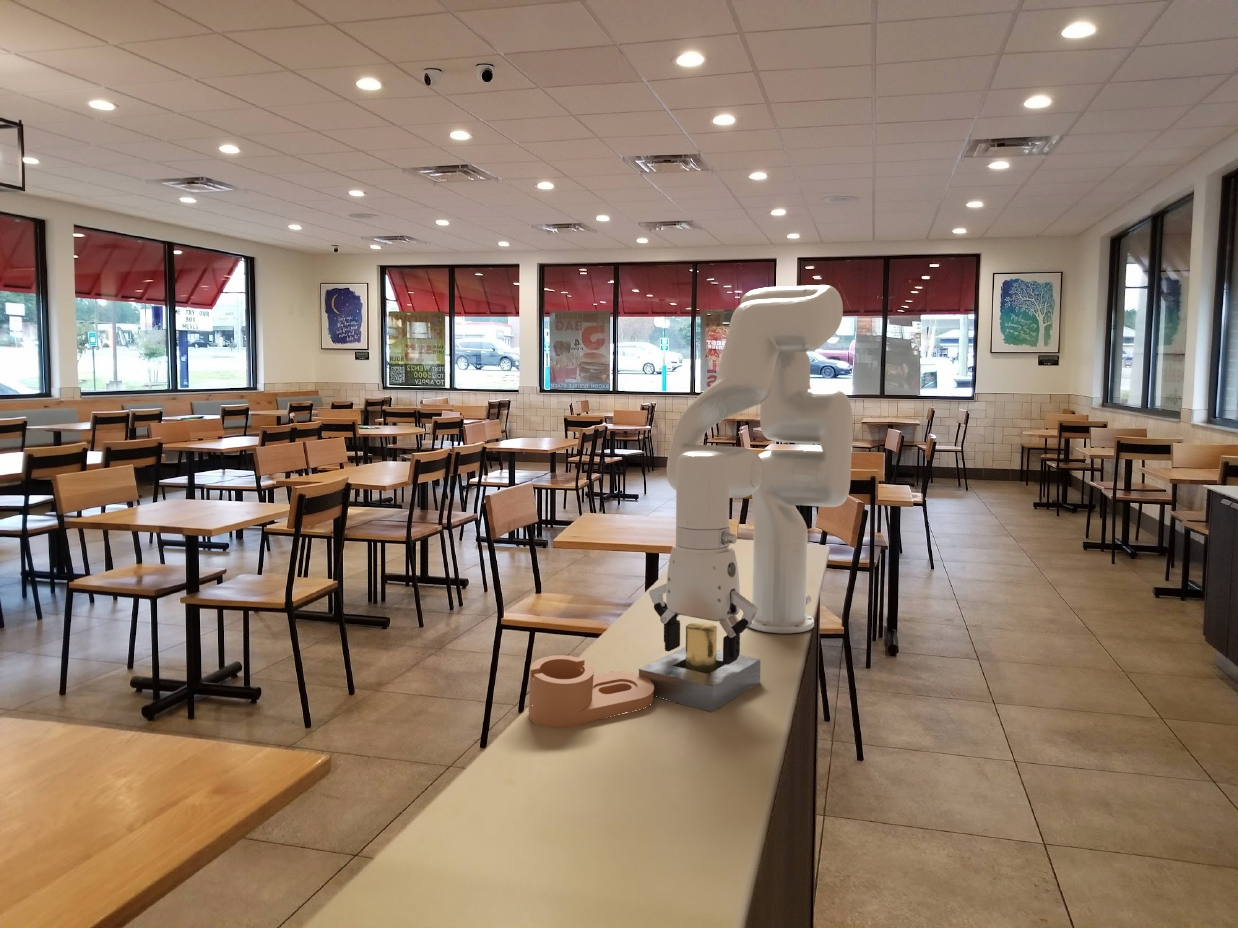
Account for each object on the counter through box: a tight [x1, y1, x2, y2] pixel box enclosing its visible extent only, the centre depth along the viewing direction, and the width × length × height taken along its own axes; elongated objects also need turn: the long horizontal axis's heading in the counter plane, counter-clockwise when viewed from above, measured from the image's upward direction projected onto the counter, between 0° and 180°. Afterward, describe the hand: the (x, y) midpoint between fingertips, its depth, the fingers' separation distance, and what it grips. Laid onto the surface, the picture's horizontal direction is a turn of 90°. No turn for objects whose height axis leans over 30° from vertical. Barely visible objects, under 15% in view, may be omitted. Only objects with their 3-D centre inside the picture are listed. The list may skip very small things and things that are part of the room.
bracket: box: [528, 654, 654, 728], centre depth 118 cm, size 18×8×7 cm, turn 120°
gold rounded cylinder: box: [685, 622, 718, 674], centre depth 126 cm, size 4×4×9 cm
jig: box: [638, 646, 761, 713], centre depth 126 cm, size 14×12×4 cm
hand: (700, 655), depth 126 cm, fingers open, 9 cm apart
